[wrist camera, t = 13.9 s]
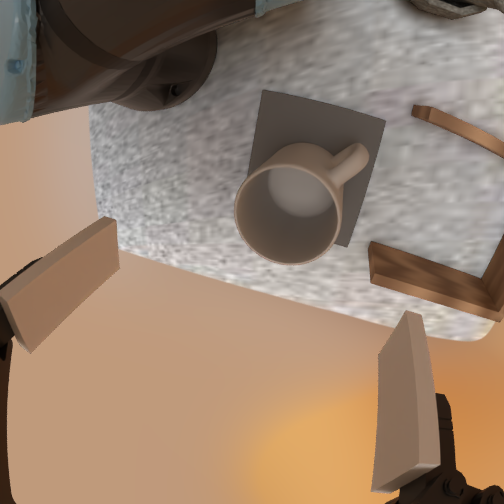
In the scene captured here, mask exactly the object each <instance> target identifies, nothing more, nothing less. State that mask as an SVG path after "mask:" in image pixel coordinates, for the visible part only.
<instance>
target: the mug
mask: <svg viewBox="0 0 504 504" xmlns="http://www.w3.org/2000/svg"><path fill="white" fill-rule="evenodd" d="M368 161H369V153H368V151H367V149H366V148H365V147H364V146H363V145H362V144H360V143H355V144H352V145H350V146H349V147H347V148H345V149H344V150H342V151H341V152H340V153H338V154H337V155H335V156H333V155H332V154H331V153H329V152H328V151H327V150H325V149H324V148H322V147H320V146H318V145H315V144H311V143H294V144H290V145H287V146H285V147H283V148H282V149H280V150H279V151H277V152H276V153H275V154H274V155H273V156H272V157H271V158H270V159H268V160H267V161H266V162H265V163H263V164H262V165H261V166H260V167H259V168H257V169H256V170H255V171H254V172H253V173H252V174H250V175H249V176H248V177H247V178H246V180H245V181H244V182H243V183H242V185H241V187H240V188H239V190H238V193H237V195H236V199H235V204H234V217H235V222H236V226H237V229H238V231H239V233H240V235H241V237H242V239H243V240H244V241H245V243H246V244H247V245H248V246H249V247H250V248H251V249H252V250H253V251H254V252H255V253H256V254H258V255H259V256H261V257H263V258H265V259H267V260H269V261H271V262H274V263H278V264H282V265H301V264H306V263H309V262H312V261H314V260H316V259H318V258H319V257H321V256H322V255H324V254H325V253H326V252H327V251H328V250H329V249H330V248H331V247H332V245H333V244H334V242H335V241H336V239H337V237H338V234H339V231H340V228H341V222H342V208H343V190H344V183H345V182H346V181H348V180H349V179H351V178H352V177H353V176H355V175H356V174H357V173H359V172H360V171H361V170H362V169H363V168H364V167H365V166H366V165H367V163H368Z"/></svg>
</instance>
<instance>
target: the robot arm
mask: <svg viewBox="0 0 504 504" xmlns="http://www.w3.org/2000/svg"><path fill="white" fill-rule="evenodd" d="M299 1H303V0H0V125H4V124H8V123H13V122H18V121H20V122H22V123H23V122H26V121H28V120H30V118H34V117H38V116H42V115H46V114H50V113H54V112H58V111H63V110H67V109H72V108H77V107H82V106H88V105H93V104H99V103H105V102H113V103H116V104H119V105H122V106H124V107H127V108H130V109H133V110H137V111H156V110H163V109H168V108H171V107H174V106H176V105H179V104H180V103H182V102H184V101H185V100H187V99H188V98H190V97H191V96H192V95H193V94H194V93H195V92H196V91H197V90H198V89H199V88H200V87H201V86H202V84H203V83H204V81H205V80H206V78H207V77H208V75H209V73H210V71H211V69H212V66H213V63H214V60H215V56H216V50H217V36H216V30H215V29H218V28H220V27H223V26H226V25H229V24H231V23H234V22H237V21H240V20H243V19H247V18H250V17H253V16H255V17H256V18H258V17H261V16H262V15H264V14H265V12H266V11H269V10H272V9H275V8H279V7H282V6H285V5H289V4H292V3H295V2H299ZM119 268H120V267H119V255H118V241H117V224H116V220H115V219H111V218H108V217H105V216H104V217H102V218H101V219H99V220H98V221H96V222H94V223H93V224H91V225H90V226H88V227H87V228H85V229H84V230H82V231H80V232H79V233H78V234H76V235H74V236H73V237H72V238H70V239H69V240H67V241H66V242H64V243H63V244H61V245H60V246H58V247H57V248H55V249H54V250H53V251H51V252H50V253H48V254H47V255H46V256H44V257H41V258H39V259H36V260H34V261H32V262H30V263H29V264H28V265H26V266H25V267H24V268H23V269H21V270H20V271H18V272H17V274H14V275H13V276H12V277H10V278H9V279H8V280H7V281H5V282H4V283H3V284H1V285H0V504H16V503H15V501H14V500H13V498H12V494H11V487H10V479H9V469H8V456H7V455H8V453H7V398H8V382H9V372H10V362H11V354H12V347H13V343H12V340H11V338H12V337H13V336H14V335H15V337H16V339H17V341H18V343H19V345H20V346H21V347H23V348H24V349H25V350H26V351H27V352H29V353H30V354H31V353H32V352H33V351H34V350H35V349H36V348H37V347H38V346H39V345H40V344H41V342H42V341H44V340H45V339H46V338H47V336H49V335H50V334H51V333H52V331H54V330H55V328H57V326H58V325H60V324H61V323H62V322H63V321H64V320H65V319H66V318H67V317H68V316H69V315H70V314H71V313H72V312H73V311H74V310H75V309H76V308H77V307H78V306H79V305H80V304H81V303H82V302H84V301H85V300H86V299H87V298H88V297H89V296H90V295H91V294H92V293H93V292H94V291H95V290H96V289H98V287H100V286H101V285H102V284H103V283H104V282H105V281H106V280H107V279H109V278H110V277H111V276H112V275H113V274H114V273H115V272H116V271H117V270H119ZM378 368H379V369H378V371H379V373H378V374H379V375H378V377H379V378H378V417H377V435H376V448H375V460H374V470H373V479H372V487H371V492H377V493H392V492H394V491H396V490H398V489H400V494H399V497H397V498H395V499H393V500H390V501H388V502H386V503H385V504H504V491H503V489H501V488H500V487H499V486H496V485H493V486H489V487H488V488H486V489H484V490H480V489H477V488H474V487H472V486H469V485H467V483H466V479H465V477H464V476H463V474H462V473H461V472H459V471H458V470H456V463H455V446H454V435H453V431H452V430H453V424H452V421H451V419H452V417H451V408H450V405H449V403H448V401H447V399H446V397H445V395H444V394H438V393H435V388H434V380H433V374H432V368H431V362H430V355H429V350H428V344H427V339H426V334H425V329H424V324H423V320H422V315H420V314H417V313H414V312H410V311H407V310H406V311H405V313H404V314H403V316H402V318H401V320H400V321H399V323H398V325H397V326H396V328H395V329H394V331H393V333H392V334H391V336H390V338H389V339H388V341H387V342H386V344H385V345H384V347H383V348H382V350H381V351H380V353H379V354H378Z"/></svg>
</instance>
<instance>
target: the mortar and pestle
mask: <svg viewBox="0 0 504 504" xmlns="http://www.w3.org/2000/svg"><path fill="white" fill-rule="evenodd" d="M409 1H411V2H412V3H413V4H414V5H415V6H416V7H417V8H418V9H419V10H423V11H426V12H429V13H432V14H435V15H440V16H443V17H446V18H448V19H451V20H453V19H458V18H462V17H466V16H470V15H474V14H478V13H481V12H483V11H485V10H486V9H487V7H488V8H492V9H497V10H499V11H501V12H502V13H503V14H504V0H409Z"/></svg>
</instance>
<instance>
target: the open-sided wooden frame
mask: <svg viewBox="0 0 504 504" xmlns="http://www.w3.org/2000/svg"><path fill="white" fill-rule="evenodd" d="M411 116H414V117H417V118H419V119H422V120H424V121H427V122H429V123H432V124H434V125H436V126H439V127H441V128H443V129H446V130H448V131H450V132H452V133H455V134H457V135H459V136H461V137H463V138H465V139H467V140H469V141H472V142H474V143H476V144H478V145H480V146H482V147H483V148H485V149H487V150H489V151H491V152H493V153H495V154H497V155H498V156H500V157H502V158H504V142H502V141H501V140H499V139H497V138H495V137H494V136H492V135H490V134H488V133H486V132H484V131H482V130H480V129H479V128H477V127H475V126H473V125H471V124H469V123H467V122H464V121H462V120H460V119H458V118H456V117H454V116H452V115H449V114H447V113H445V112H443V111H440V110H438V109H436V108H433V107H429V106H419V105H414V106H413V110H412V114H411ZM368 256H369V268H370V282H371V283H372V284H375V285H378V286H382V287H385V288H388V289H392V290H395V291H398V292H401V293H405V294H408V295H411V296H415V297H418V298H421V299H425V300H428V301H431V302H434V303H438V304H441V305H444V306H447V307H451V308H454V309H457V310H461V311H464V312H467V313H470V314H474V315H477V316H480V317H483V318H487V319H490V320H493V321H496V322H501V320H502V319H503V317H504V235H503V237H502V239H501V241H500V243H499V245H498V247H497V250H496V252H495V254H494V256H493V258H492V260H491V262H490V263H489V265H488V267H487V269H486V271H485V273H484V275H483V277H482V278H481V279H480V278H477V277H475V276H472V275H469V274H467V273H464V272H461V271H458V270H455V269H453V268H450V267H447V266H444V265H441V264H438V263H436V262H433V261H430V260H427V259H424V258H421V257H418V256H415V255H412V254H409V253H406V252H403V251H400V250H397V249H394V248H391V247H388V246H385V245H382V244H379V243H376V242H372V241H371V243H370V246H369V248H368Z"/></svg>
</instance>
